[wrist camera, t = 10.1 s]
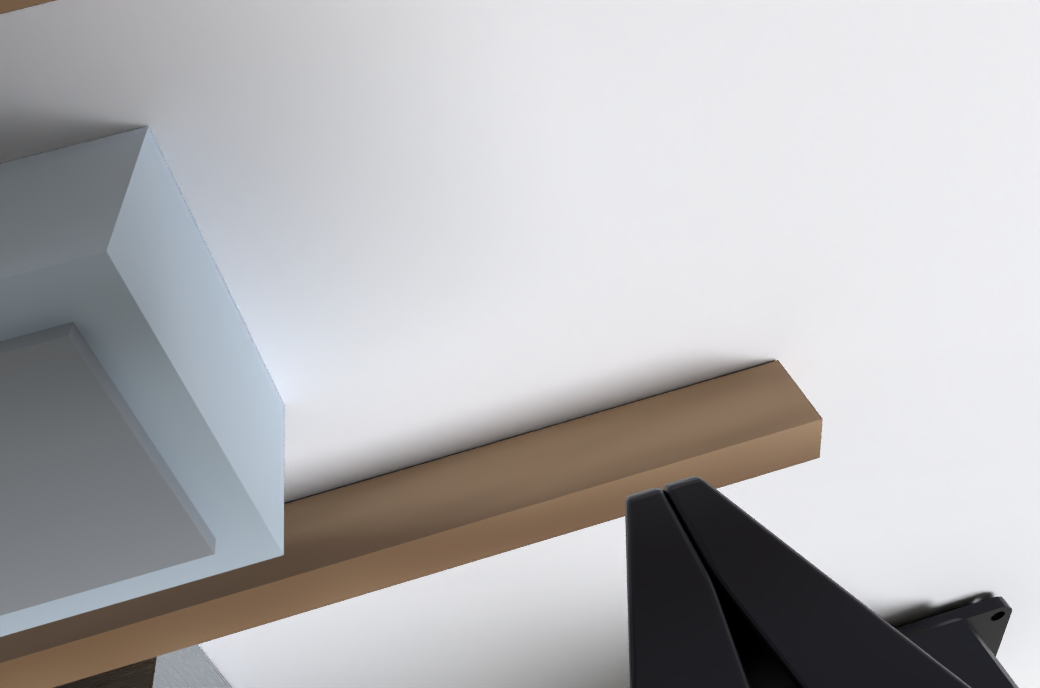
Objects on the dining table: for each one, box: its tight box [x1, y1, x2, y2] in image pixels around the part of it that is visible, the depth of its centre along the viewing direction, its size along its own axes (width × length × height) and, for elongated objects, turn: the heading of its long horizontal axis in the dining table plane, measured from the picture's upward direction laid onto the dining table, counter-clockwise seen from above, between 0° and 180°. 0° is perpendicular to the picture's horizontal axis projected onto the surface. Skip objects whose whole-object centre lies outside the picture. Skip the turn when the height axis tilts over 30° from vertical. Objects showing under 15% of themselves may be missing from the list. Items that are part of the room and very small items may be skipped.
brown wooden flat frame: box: [0, 0, 822, 688], centre depth 13 cm, size 13×25×3 cm, turn 100°
